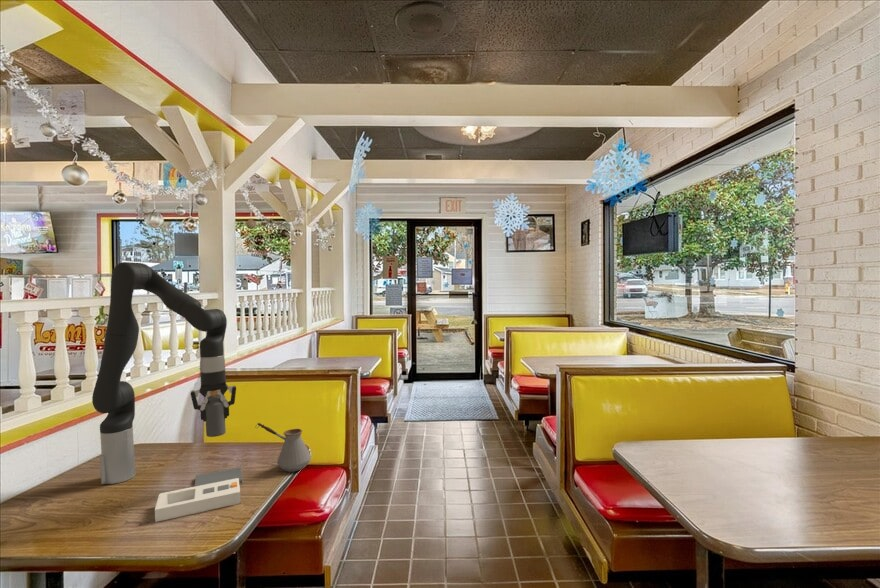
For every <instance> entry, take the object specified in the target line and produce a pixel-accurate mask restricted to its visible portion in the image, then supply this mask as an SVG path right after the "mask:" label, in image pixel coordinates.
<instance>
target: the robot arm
mask: <svg viewBox="0 0 880 588" xmlns="http://www.w3.org/2000/svg"><path fill="white" fill-rule="evenodd" d="M110 279H111V280H110V300H109V301H110V302H109V310H108V318H107V325H106V328H105V335H104V340H103V341H104V342H103V351H102V355H101V359H100V360H101V361H100V365H99V370H98V375H97V379H96V381H95V385H94V388H93V393H92V398H91V400H92V401H91V402H92V406H93V409H95V411H97V413H100V414H107V416H106V417H105V419H104V418H103V419H104V420H102V422H101V423H100V424H99V433H100V434H99V436H100V438H99V439H100V452H101V453H100V456H99V464H100V465H99V467H100V482H101V485H113V484H119V483H123V482H126V481H129V480H131V479H133V478H134V477H135V476H136V464H135V463H136V461H135V458H136V457H135V445H134V443H135V442H134V429H133V428H134V427H133V426H134V425H133V422H134V419H135V415H136V404H135V403H136V396H135V391H134V388H133V386H132V385H131V384H130V383H129V382H127V381H124V380H121V378H122V374H123V373H124V369H125V368H126V366H127V365H128V363H129V361H130V359H131V358H132V357H133V355H134V352H135V351H136V348H137V346H138V341H139V340H138V339H139V334H140V333H139V332H140V327H139V326H140V325H139V323H138V320H137V318H136V315H135V313H134V310H133V304H132V303H133V301H132V300H133V295H134V291H136V290H137V291H138V290H140V291H141V290H143V291H146V292H149V293H151V294H154V295H155V296H157V297H158V298H159V299H160V300H161V302H162V304H163V305H165V307H167V309H169V310H170V311H173V312H174V313H175V314H177V315H179V316H181V317H182V318H184V319H185V320H186V321H187V322H188V323H189V324H190V326H192V327H193V328H194V329H196V330H198V331H199V332H205V333H206V335H205V337H204V338H203V339H201V340H200V342H199V358H200V359H199V372H200V373H199V375H200V376H199V377H200V387H199V389H197V390H191V391H190V397H191V402H192V405H193V409H194V410H195V411H196V410H198V411H200V420H201V421H202V422H206V417H205V406H206V404H207V402H208V397H210V393H209V392H210V391H213V390H217V391H218V393H217V395H220V396H221V398H220V399H221V401H222V402H223V404H224V411H225V419H227V418H228V417H230V406H232V405H234V404H235V400H236V393H237V386H236V385H232V386H230V385H229V386H228V385H227V380H226V379H227V377H226V374H227V373H226V360H225V354H224V351H225V350H224V340H225V335H226V330H227V324H228V319H227V316H226V314H225V312H224V311H223V310H221V309H219V308H211V309H205V308H203V307H202V304H201V302H200V301H199V300H198V299H196V298H195V297H193V296H191V295H189V294H187V293H186V292H184V291H182V290H181V289H179V288H177V287H176V286H174V285H173V284H171V283H170V282H169V281H167V280H166V279H165V278H164V277H163V276H161V275H160V274H159V273H158V272H157V271H155V270H154V269H153V268H152V267H151V266H149V265H148V264H145V263H141V262H132V261H131V262H129V261H123V262H119V263H117V264H116V265H115V267H114V268H113V269H112V272H111V278H110ZM220 390H221V391H220ZM207 391H208V392H207ZM227 391H229V393H230V394H231V395H230V400H228V399H227V398H226V396H225V394H226V392H227ZM199 394H201V395H202V397H203V399H202V403H201V404H199V402H198V397H199Z"/></svg>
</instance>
